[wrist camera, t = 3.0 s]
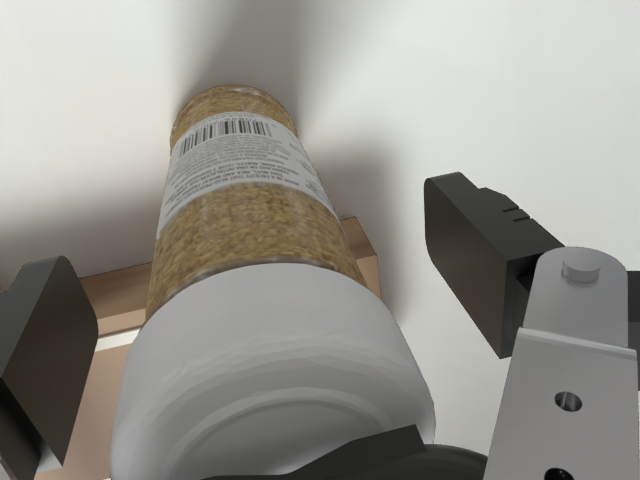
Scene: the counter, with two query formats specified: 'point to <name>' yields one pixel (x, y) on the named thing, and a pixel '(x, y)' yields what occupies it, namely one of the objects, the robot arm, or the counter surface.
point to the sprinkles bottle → (255, 313)
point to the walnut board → (113, 346)
